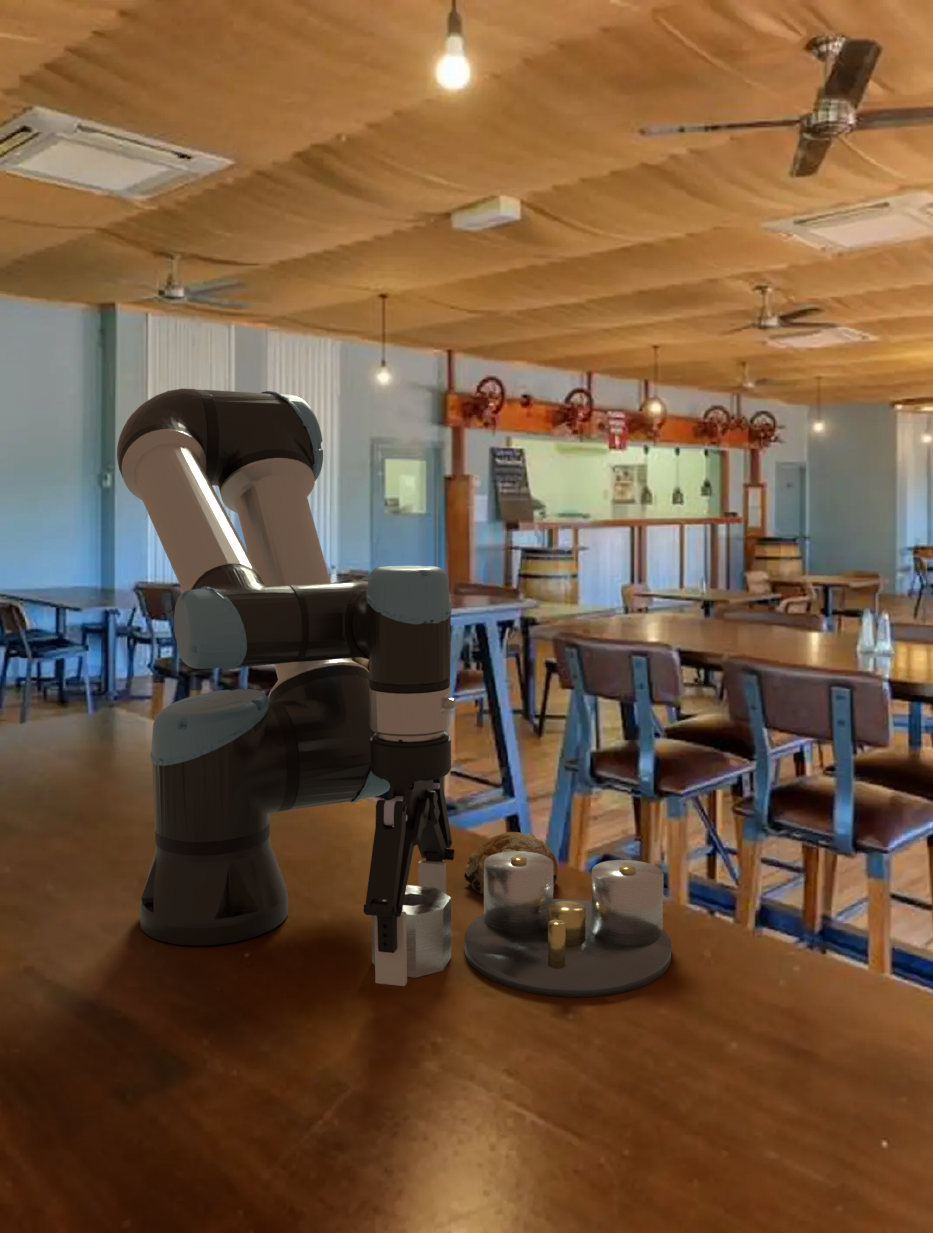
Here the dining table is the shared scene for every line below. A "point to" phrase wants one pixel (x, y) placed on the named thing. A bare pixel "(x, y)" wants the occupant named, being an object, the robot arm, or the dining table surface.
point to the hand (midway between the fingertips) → (413, 952)
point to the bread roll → (504, 844)
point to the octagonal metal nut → (425, 930)
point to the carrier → (569, 928)
